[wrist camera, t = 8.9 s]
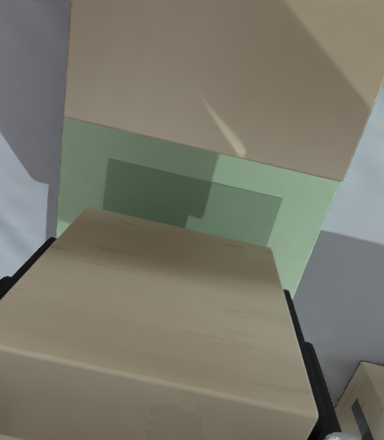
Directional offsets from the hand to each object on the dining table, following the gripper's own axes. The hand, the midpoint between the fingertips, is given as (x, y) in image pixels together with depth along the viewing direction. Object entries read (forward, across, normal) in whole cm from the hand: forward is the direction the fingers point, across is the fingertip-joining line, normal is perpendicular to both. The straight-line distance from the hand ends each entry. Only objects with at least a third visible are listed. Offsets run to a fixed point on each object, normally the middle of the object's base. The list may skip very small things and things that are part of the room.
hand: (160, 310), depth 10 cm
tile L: (0, 0, 0) cm, 0 cm away
